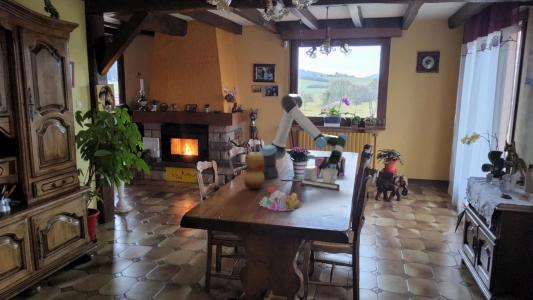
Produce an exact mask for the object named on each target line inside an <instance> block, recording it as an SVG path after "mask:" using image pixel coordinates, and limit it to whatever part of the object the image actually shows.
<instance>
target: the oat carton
mask: <svg viewBox="0 0 533 300" xmlns="http://www.w3.org/2000/svg"><path fill="white" fill-rule="evenodd" d="M303 171H304V172H303V173H304V174H303V179H307V180H314V181H318V180H317V177H318V175H317V167H315V165H308V166H305V167H304V170H303Z"/></svg>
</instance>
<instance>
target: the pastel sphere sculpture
mask: <svg viewBox="0 0 533 300" xmlns="http://www.w3.org/2000/svg"><path fill="white" fill-rule="evenodd" d="M267 192H268V194H269V197H268V196H263V198H261V200H259V202H258V204H260V205H259V206H260V207H261V206H263V207H262V208H267V210H269V209H270V211H273V212H274V211H275V212H276V211H277V210H278V211H279V212H285V211H286V212H290V211H291V212H292V211H294V210H296V208H300V207H301V206H302V205H301V203H302V201H301V200H299V199H298V194H297V193H295V192H292V193H291V195H286V193H285V192H283V191H282V192H281V190H276V189H275V187H274V186H269V187H268V189H267ZM278 211H277V212H278Z"/></svg>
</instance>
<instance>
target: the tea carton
mask: <svg viewBox="0 0 533 300" xmlns="http://www.w3.org/2000/svg"><path fill="white" fill-rule="evenodd" d="M334 177H335V169H330V168H327V169H324V170H323V175H322V180H321V182H327V183H333V184H336V181H335V180H334Z"/></svg>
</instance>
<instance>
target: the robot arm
mask: <svg viewBox="0 0 533 300" xmlns="http://www.w3.org/2000/svg"><path fill="white" fill-rule="evenodd" d="M303 101H304V100H303V98H302V97H301V95H299V94H298V93H297V94H296V93H287V94H284V96H282V97H281V99H280V106H281V108H282V110H283V114H282V117H281V120H280V123H279V126H278V129H277V132H276V135H275V139H274V140H272V141H271V144H269V145H263V146H262V147H261V149H260V153H261V154H263V156H264V168H263V174H264V179H267V180H269V179H270V180H271V179H272V180H273V179H277V178H279V171H278V168H277V161H279V160H282V159H283V158H284V157H285V156H286V153H287V150H286V148H287V144H286V142H287V139H288V137H289V134H290V131H291V127H292V124H293V121H295V122H296V123H297V124H298V126H300V127H301V129H303V131H305V133H306V134H307V135H308V136H309V137H310V138H311V139H312V141H313V142H314V144H315V146H316V147H317V148H318V149H324V148H326V147H328V146H331V147H332V150H331V153H330V156H328V157H329V158H326V157H327V156H324V157H325V159H324V161H323V162H322V163H321V164H320V166H319V169H320V171H319V173H320V174H319V175H318V178H319V179H320V180H321V178H323V175H322V174H323V170H324V169H325V168H326V167H327V166H329V165H331V164H334V165H335V164H336V166H337V169H338V171H337V172H336V174H335V177H334V180H335V182H336V181H337V179H338V177H340V176H341V175H340V173H341V172H342V173H343V163H344V160H343V159H342V160H340V159H341V157H343V156H342V155H343V153H344V150H345V148H346V146H347V143H348V142H347V141H348V137H347V135H345V134H343V133H339V134H338V135H330V134H324V133H322V132H321V131H320V129H318V128H317V127H316V125H315V124H314V123H313V122H312V121H311V120H310V118H308V117H307V116H306V115H305V113H303V111H302V110H301V107H303ZM328 160H329V161H328ZM327 161H328V162H327ZM326 162H327V163H326ZM329 162H330V163H329ZM339 162H341V170H340V169H339V166H338V163H339ZM325 163H326V164H325Z"/></svg>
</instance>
